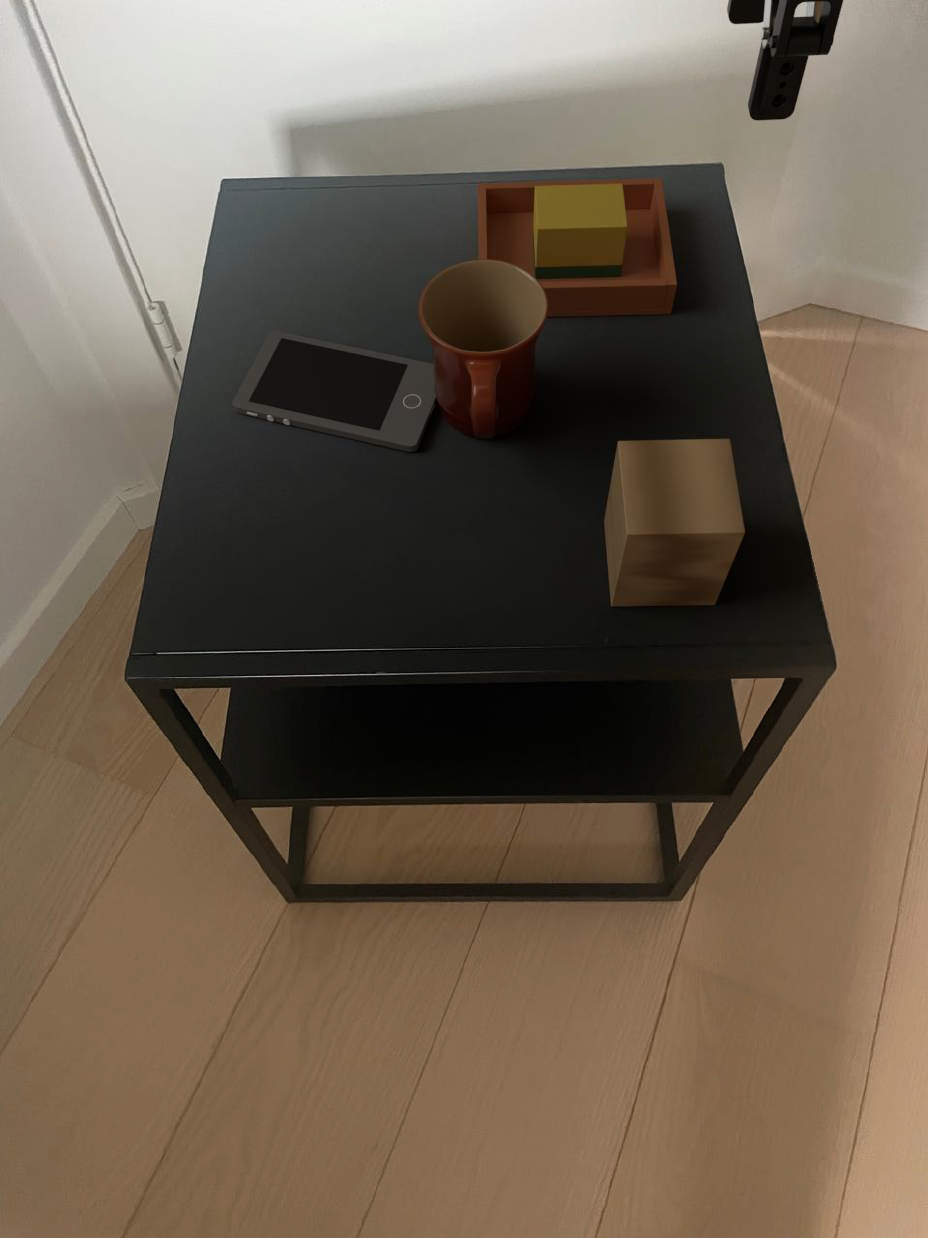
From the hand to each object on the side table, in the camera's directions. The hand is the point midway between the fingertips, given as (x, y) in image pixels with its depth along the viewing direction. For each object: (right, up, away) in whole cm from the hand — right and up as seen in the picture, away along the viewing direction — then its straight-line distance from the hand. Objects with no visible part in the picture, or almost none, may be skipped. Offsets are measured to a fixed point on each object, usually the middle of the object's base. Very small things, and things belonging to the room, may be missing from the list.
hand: (757, 65), depth 51 cm
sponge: (-6, +1, +29) cm, 30 cm away
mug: (-14, -15, +22) cm, 30 cm away
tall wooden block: (-2, -25, +16) cm, 30 cm away
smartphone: (-25, -12, +24) cm, 36 cm away
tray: (-6, +1, +29) cm, 30 cm away
